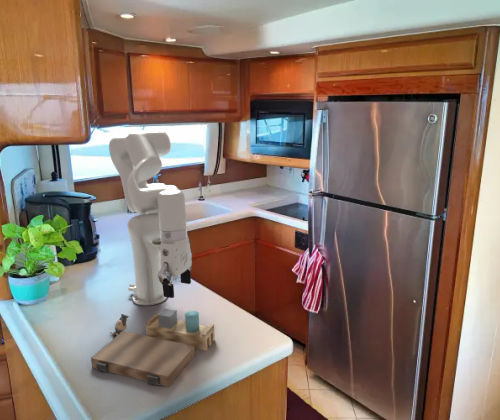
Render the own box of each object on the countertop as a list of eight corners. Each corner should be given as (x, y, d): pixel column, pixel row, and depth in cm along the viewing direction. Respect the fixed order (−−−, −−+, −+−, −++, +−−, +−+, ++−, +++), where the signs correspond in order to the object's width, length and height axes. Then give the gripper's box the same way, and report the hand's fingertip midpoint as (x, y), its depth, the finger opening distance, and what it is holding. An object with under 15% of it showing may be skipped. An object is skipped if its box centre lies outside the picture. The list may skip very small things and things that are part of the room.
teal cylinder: (183, 331, 120) (182, 316, 119) (189, 324, 124) (189, 309, 122) (195, 333, 119) (194, 318, 117) (201, 326, 122) (200, 311, 121)
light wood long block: (147, 339, 125) (145, 323, 123) (157, 329, 130) (156, 313, 129) (205, 351, 118) (205, 334, 116) (214, 340, 123) (214, 324, 122)
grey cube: (158, 326, 123) (157, 314, 122) (166, 320, 127) (165, 308, 126) (170, 328, 122) (169, 316, 121) (177, 322, 125) (176, 310, 124)
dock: (89, 369, 110) (88, 359, 109) (124, 339, 124) (123, 330, 123) (166, 389, 102) (165, 379, 101) (194, 355, 116) (194, 345, 115)
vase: (123, 326, 131) (123, 310, 130) (134, 333, 128) (133, 316, 126) (108, 333, 127) (108, 316, 125) (119, 340, 124) (118, 323, 122)
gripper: (168, 244, 106) (173, 305, 110) (199, 226, 121) (202, 279, 126) (144, 242, 108) (149, 301, 113) (177, 224, 124) (181, 277, 128)
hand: (177, 289), depth 119 cm, fingers open, 9 cm apart
